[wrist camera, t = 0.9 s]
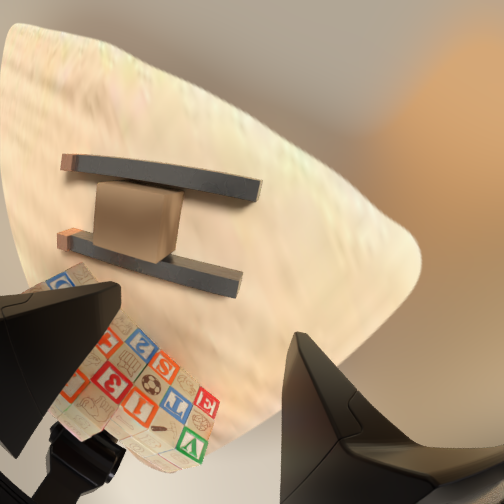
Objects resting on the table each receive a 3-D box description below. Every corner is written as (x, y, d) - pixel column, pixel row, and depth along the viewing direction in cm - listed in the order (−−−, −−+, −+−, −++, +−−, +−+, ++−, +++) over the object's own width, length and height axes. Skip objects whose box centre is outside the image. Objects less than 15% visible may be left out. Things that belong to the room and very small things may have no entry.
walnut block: (175, 249, 23) (155, 263, 19) (118, 233, 23) (92, 244, 19) (185, 191, 21) (164, 195, 17) (124, 179, 22) (97, 182, 18)
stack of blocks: (222, 400, 27) (195, 491, 15) (188, 416, 29) (157, 494, 17) (82, 260, 24) (-6, 308, 13) (62, 292, 26) (-10, 341, 14)
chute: (239, 288, 23) (234, 301, 20) (72, 241, 24) (57, 248, 21) (262, 180, 20) (259, 180, 18) (79, 153, 21) (62, 153, 19)
